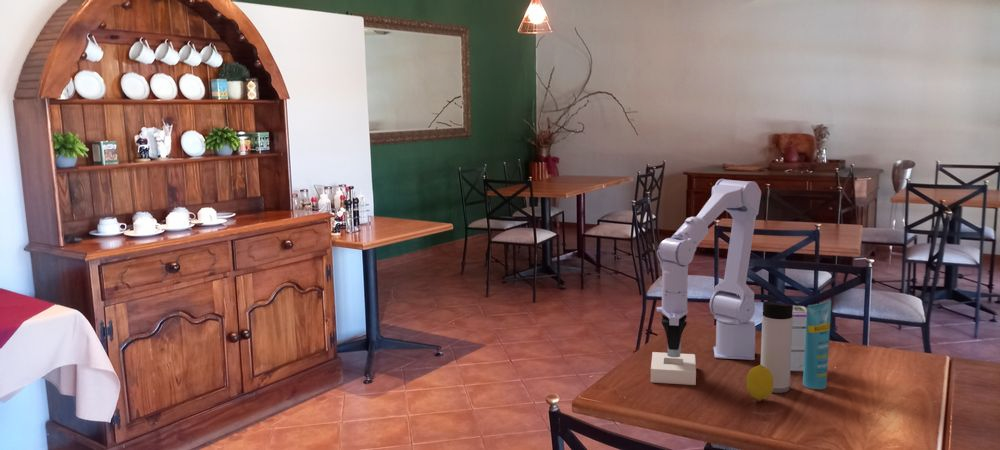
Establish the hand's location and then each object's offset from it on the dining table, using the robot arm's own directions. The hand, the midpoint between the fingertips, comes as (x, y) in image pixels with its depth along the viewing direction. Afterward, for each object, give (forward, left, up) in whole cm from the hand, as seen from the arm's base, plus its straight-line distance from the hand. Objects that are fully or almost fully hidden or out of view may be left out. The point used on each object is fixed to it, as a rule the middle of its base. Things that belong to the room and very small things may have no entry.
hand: (673, 346), depth 179 cm
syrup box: (-28, -10, -7) cm, 31 cm away
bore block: (0, 0, -7) cm, 7 cm away
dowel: (0, 0, -2) cm, 2 cm away
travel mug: (-22, +5, -7) cm, 24 cm away
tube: (-31, +2, -7) cm, 32 cm away
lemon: (-18, +13, -7) cm, 23 cm away
